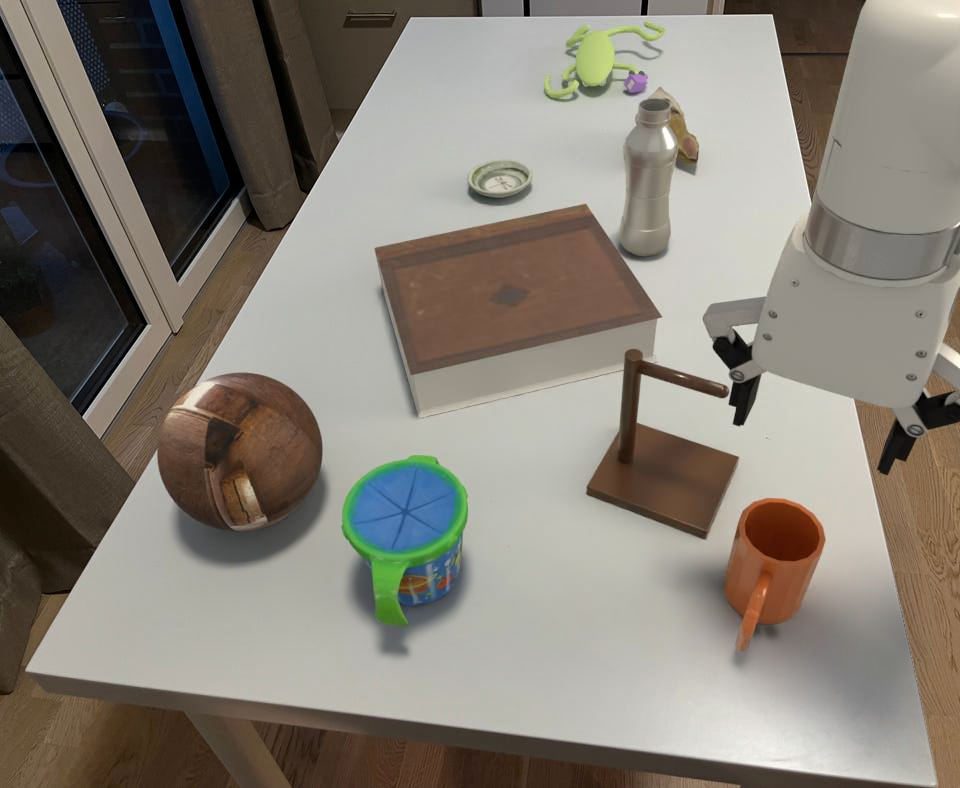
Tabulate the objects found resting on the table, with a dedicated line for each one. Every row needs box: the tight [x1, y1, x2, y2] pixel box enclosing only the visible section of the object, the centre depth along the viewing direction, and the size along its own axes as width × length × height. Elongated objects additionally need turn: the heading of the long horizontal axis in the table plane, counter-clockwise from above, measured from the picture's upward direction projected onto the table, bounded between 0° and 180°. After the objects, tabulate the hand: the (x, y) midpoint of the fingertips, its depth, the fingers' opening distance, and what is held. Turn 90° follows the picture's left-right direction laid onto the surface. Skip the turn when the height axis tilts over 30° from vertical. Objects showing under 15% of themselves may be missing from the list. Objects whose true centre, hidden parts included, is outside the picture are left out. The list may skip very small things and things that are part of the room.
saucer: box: [467, 158, 533, 199], centre depth 119 cm, size 10×10×2 cm
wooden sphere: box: [156, 372, 324, 532], centre depth 76 cm, size 15×15×15 cm
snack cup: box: [341, 454, 469, 627], centre depth 70 cm, size 16×10×10 cm
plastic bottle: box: [618, 98, 679, 257], centre depth 99 cm, size 6×7×20 cm
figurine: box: [543, 20, 667, 99], centre depth 144 cm, size 18×27×6 cm
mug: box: [722, 497, 827, 653], centre depth 65 cm, size 11×6×9 cm, turn 150°
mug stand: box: [586, 349, 740, 539], centre depth 73 cm, size 12×10×15 cm
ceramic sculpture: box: [634, 86, 700, 165], centre depth 121 cm, size 11×9×15 cm
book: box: [374, 203, 663, 419], centre depth 95 cm, size 24×28×6 cm
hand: (812, 435), depth 55 cm, fingers open, 9 cm apart
